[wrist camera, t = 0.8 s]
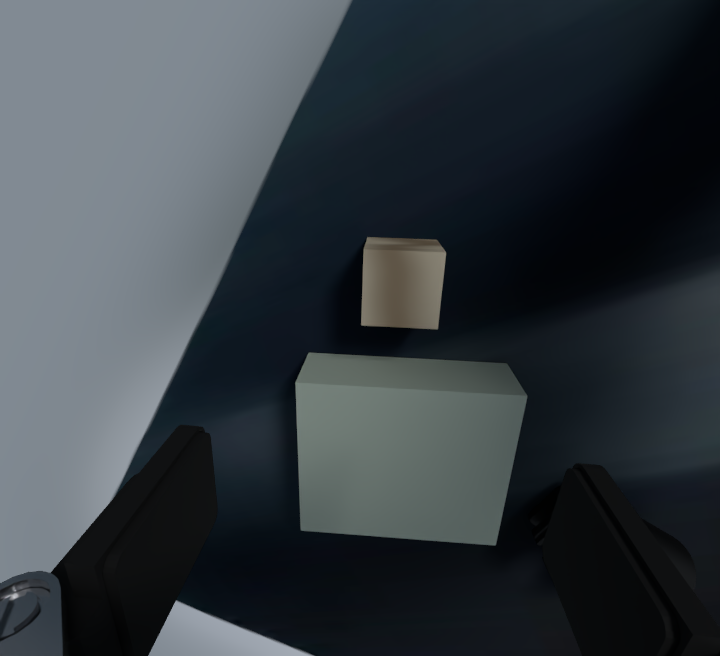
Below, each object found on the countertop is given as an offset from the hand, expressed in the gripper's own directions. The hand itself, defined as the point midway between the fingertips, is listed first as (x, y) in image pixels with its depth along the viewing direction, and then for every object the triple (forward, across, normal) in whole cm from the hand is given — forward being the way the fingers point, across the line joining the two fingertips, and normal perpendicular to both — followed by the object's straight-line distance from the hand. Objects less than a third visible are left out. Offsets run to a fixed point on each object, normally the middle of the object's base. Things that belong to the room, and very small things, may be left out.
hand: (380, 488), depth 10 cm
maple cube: (+21, -1, -1) cm, 21 cm away
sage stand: (+21, -2, +13) cm, 25 cm away
